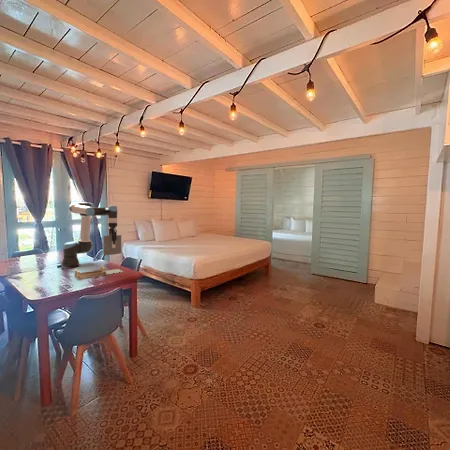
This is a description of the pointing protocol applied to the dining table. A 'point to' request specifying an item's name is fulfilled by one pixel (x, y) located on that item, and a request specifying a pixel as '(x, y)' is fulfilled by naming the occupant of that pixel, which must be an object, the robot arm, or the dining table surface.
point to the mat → (113, 271)
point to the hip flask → (108, 245)
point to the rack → (90, 273)
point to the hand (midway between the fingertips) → (112, 247)
